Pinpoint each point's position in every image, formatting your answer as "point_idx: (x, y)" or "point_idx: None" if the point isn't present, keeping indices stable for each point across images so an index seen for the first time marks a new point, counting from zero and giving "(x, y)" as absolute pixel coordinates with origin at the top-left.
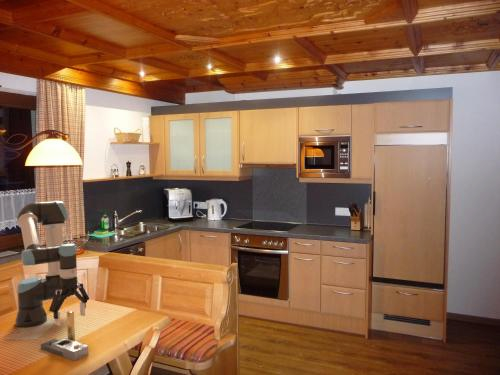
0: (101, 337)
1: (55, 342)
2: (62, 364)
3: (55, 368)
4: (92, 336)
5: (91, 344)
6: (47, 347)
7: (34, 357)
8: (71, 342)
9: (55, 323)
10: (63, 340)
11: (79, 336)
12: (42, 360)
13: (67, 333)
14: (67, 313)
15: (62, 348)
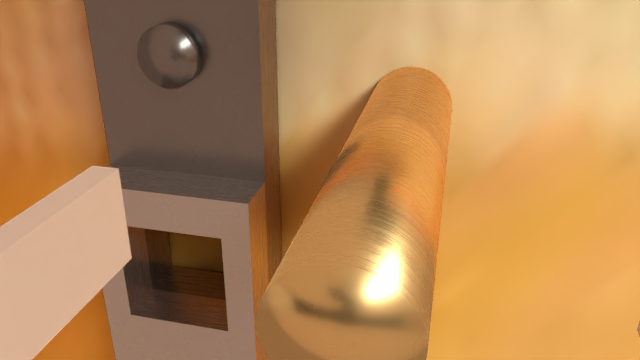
0: (620, 333)
1: (127, 195)
2: (99, 357)
3: (46, 352)
4: (612, 232)
5: (438, 342)
6: (103, 97)
7: (5, 75)
8: (221, 338)
9: (76, 181)
10: (203, 235)
11: (556, 90)
12: (31, 185)
13: (360, 115)
14: (256, 330)
15: (115, 335)
